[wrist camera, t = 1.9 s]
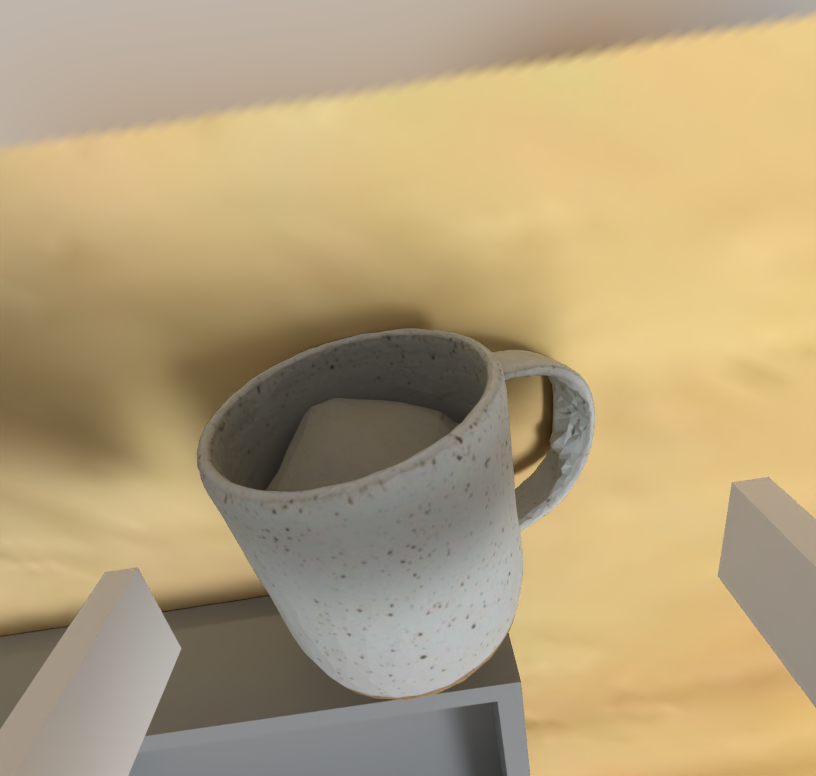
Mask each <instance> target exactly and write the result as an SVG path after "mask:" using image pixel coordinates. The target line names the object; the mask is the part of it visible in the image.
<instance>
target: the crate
mask: <svg viewBox="0 0 816 776" xmlns="http://www.w3.org/2000/svg"><path fill="white" fill-rule="evenodd" d="M162 613H163V615H164V617H165V619H166V621H167V623H168V624H169V626H170V628H171V630H172V632H173V634H174V636H175V637H176V639H177V641H178V643H179V645H180V647H181V651H180V653H179V656H178V658H177V660H176V663H175V665H174V668H173V670H172V672H171V675H170V677H169V679H168V682H167V684H166V687H165V689H164V691H163V694H162V696H161V699H160V701H159V703H158V706H157V708H156V711H155V713H154V715H153V718H152V720H151V723H150V725H149V727H148V730H147V732H146V735H145V737H144V739H143V742H142V744H141V746H140V749H139V751H138V754H137V756H136V758H135V761H134V763H133V766H132V768H131V770H130V773H129V775H128V776H530V769H529V759H528V749H527V739H526V728H525V718H524V708H523V698H522V688H521V680H520V676H519V672H518V669H517V665H516V661H515V657H514V653H513V649H512V645H511V641H510V637H509V633H508V634H507V635H506V637H505V638H504V640H503V641H502V643H501V644H500V646H499V647H498V649H497V650H496V652H495V653H494V654H493V656H492V657H491V658H490V659H489V660H488V661H487V662H485V663H484V664H483V665H482V666H481V667H480V668H478V669H477V670H476V671H475V672H474V673H473V674H471V675H470V676H469V677H468V678H467V679H466V680H464V681H463V682H460V683H458V684H456V685H454V686H452V687H450V688H448V689H446V690H444V691H441V692H439V693H437V694H433V695H429V696H424V697H419V698H415V699H409V700H397V699H380V698H372V697H369V696H365V695H361V694H358V693H356V692H354V691H352V690H350V689H348V688H346V687H344V686H343V685H341V684H340V683H338V682H337V681H335V680H333V679H332V678H331V677H329V676H328V675H327V674H326V673H325V672H324V671H323V670H322V669H321V668H320V667H319V666H318V665H317V664H316V663H315V662H314V661H313V660H312V659H311V658H310V657H309V656H308V655H307V654H306V653H305V652H304V651H303V650H302V649H301V647H300V646H299V644H298V643H297V642H296V640H295V639H294V637H293V636H292V634H291V632H290V631H289V629H288V627H287V626H286V624H285V622H284V620H283V618H282V617H281V615H280V613H279V611H278V609H277V607H276V606H275V604H274V602H273V600H272V598H271V597H270V596H266V597H259V598H253V599H246V600H240V601H233V602H227V603H220V604H214V605H207V606H200V607H194V608H187V609H181V610H174V611H168V612H162ZM67 629H68V627H63V628H56V629H50V630H43V631H36V632H30V633H23V634H17V635H10V636H4V637H0V729H1V727H2V726H3V724H4V723H5V721H6V720H7V718H8V717H9V715H10V714H11V712H12V711H13V709H14V708H15V706H16V705H17V703H18V702H19V700H20V699H21V697H22V696H23V694H24V693H25V691H26V690H27V688H28V687H29V685H30V684H31V682H32V681H33V679H34V678H35V676H36V675H37V673H38V672H39V670H40V669H41V667H42V666H43V664H44V663H45V661H46V660H47V658H48V657H49V655H50V654H51V652H52V651H53V649H54V648H55V646H56V645H57V643H58V642H59V641H60V639H61V638H62V636H63V635H64V633H65V632H66V630H67Z"/></svg>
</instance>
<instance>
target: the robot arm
mask: <svg viewBox="0 0 816 776" xmlns="http://www.w3.org/2000/svg"><path fill="white" fill-rule="evenodd" d="M718 577H719V578H720V580H721V581H722V582H723V584H724V585H725V586H726V588H727V589H728V591H729V592H730V593H731V595H732V596H733V597H734V599H735V600H736V601H737V603H738V604H739V605H740V607H741V608H742V609H743V611H744V612H745V613H746V615H747V616H748V617H749V619H750V620H751V621H752V623H753V624H754V625H755V627H756V628H757V629H758V631H759V632H760V633H761V635H762V636H763V637H764V639H765V640H766V642H767V643H768V644H769V646H770V647H771V648H772V650H773V651H774V652H775V654H776V655H777V656H778V658H779V659H780V660H781V662H782V663H783V664H784V666H785V667H786V668H787V670H788V671H789V672H790V674H791V675H792V676H793V678H794V679H795V680H796V682H797V683H798V684H799V686H800V687H801V688H802V690H803V691H804V693H805V694H806V695H807V697H808V698H809V699H810V701H811V702H812V703H813V705H814V706H815V707H816V519H815V518H814V517H813V516H811V515H810V514H809V513H808V512H807V511H806V510H805V509H804V508H803V507H801V506H800V505H799V504H798V503H797V502H796V501H795V500H794V499H793V498H791V497H790V496H789V495H788V494H787V493H786V492H785V491H784V490H782V489H781V488H780V487H779V486H778V485H777V484H776V483H775V482H774V481H772V480H771V479H770V478H769V477H766V478H759V479H753V480H746V481H739V482H732V485H731V492H730V499H729V505H728V512H727V518H726V525H725V532H724V538H723V545H722V552H721V558H720V565H719V572H718ZM180 651H181V647H180V645H179V643H178V641H177V639H176V637H175V636H174V634H173V632H172V630H171V628H170V626H169V624H168V623H167V621H166V619H165V617H164V615H163V613H162V611H161V610H160V608H159V606H158V604H157V602H156V600H155V599H154V597H153V595H152V593H151V591H150V589H149V587H148V586H147V584H146V582H145V580H144V578H143V576H142V574H141V573H140V571H139V569H138V568H131V569H124V570H117V571H110V572H105V573H104V575H103V576H102V578H101V579H100V581H99V582H98V584H97V585H96V587H95V588H94V590H93V591H92V593H91V594H90V596H89V597H88V599H87V600H86V602H85V603H84V605H83V606H82V608H81V609H80V611H79V612H78V614H77V615H76V617H75V618H74V620H73V621H72V623H71V624H70V626H69V627H68V629H67V630H66V632H65V633H64V635H63V636H62V638H61V639H60V641H59V642H58V643H57V645H56V646H55V648H54V649H53V651H52V652H51V654H50V655H49V657H48V658H47V660H46V661H45V663H44V664H43V666H42V667H41V669H40V670H39V672H38V673H37V675H36V676H35V678H34V679H33V681H32V682H31V684H30V685H29V687H28V688H27V690H26V691H25V693H24V694H23V696H22V697H21V699H20V700H19V702H18V703H17V705H16V706H15V708H14V709H13V711H12V712H11V714H10V715H9V717H8V718H7V720H6V721H5V723H4V724H3V726H2V727H1V729H0V776H128V775H129V773H130V770H131V768H132V766H133V763H134V761H135V758H136V756H137V754H138V751H139V749H140V746H141V744H142V742H143V739H144V737H145V735H146V732H147V730H148V727H149V725H150V723H151V720H152V718H153V715H154V713H155V711H156V708H157V706H158V703H159V701H160V699H161V696H162V694H163V691H164V689H165V687H166V684H167V682H168V679H169V677H170V675H171V672H172V670H173V668H174V665H175V663H176V660H177V658H178V656H179V653H180Z"/></svg>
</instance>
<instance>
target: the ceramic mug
mask: <svg viewBox="0 0 816 776" xmlns="http://www.w3.org/2000/svg"><path fill="white" fill-rule="evenodd" d="M539 375H547V376H548V379H549V380H550V382H551V383H552V390H553V430H552V434H551V438H550V444H551V446H550V448H549V450H548V452H547V455H546V457H545V458H544V459H543V461H542V462H541V463H540V465H539V466H538V467H537V469H536V470H535V472H534V473H533V474H532V475H531V476H530V477H529V478H527V479H526V480H525V481H523V482H522V484H521V485H520V486H519V487H517V488H516V489H515V484H514V470H513V459H512V447H511V435H510V421H509V408H508V396H507V389H506V383H505V381H507V380H508V379H512V378H517V377H528V376H539ZM594 423H595V411H594V402H593V398H592V393H591V391H590V389H589V386H588V385H587V383H586V382H585V380H584V379H583V378H582V377H581V376H580V375H579V374H578V373H577V372H575V371H574V370H572V369H571V368H569V367H568V366H566V365H564V364H562V363H559V362H557V361H554V360H552V359H550V358H548V357H546V356H544V355H541V354H538V353H535V352H532V351H526V350H504V351H498V352H491V351H490V350H489V349H488V348H487V347H486V346H484V345H483V344H481V343H480V342H478V341H476V340H474V339H472V338H470V337H468V336H463V335H460V334H458V333H453V332H446V331H442V330H428V329H418V328H406V329H396V330H389V331H382V332H376V333H366V334H359V335H356V336H352V337H348V338H344V339H340V340H337V341H333V342H330V343H325V344H323V345H321V346H319V347H316V348H312V349H308V350H306V351H304V352H301V353H299V354H297V355H295V356H294V357H292V358H289V359H287V360H284V361H282V362H280V363H278V364H276V365H274V366H273V367H271V368H269V369H268V370H266V371H264V372H262V373H261V374H259V375H257V376H255V377H254V378H252V379H250V380H249V381H248V382H247V383H246V384H245V385H244V386H243V387H242V388H240V389H239V390H238V391H237V392H235V393H234V394H233V395H231V396H230V397H229V399H228V400H227V401H226V402H225V403H224V404H223V405H222V406H221V407H220V408H219V409H218V411H217V412H216V413H215V414H214V415H213V417H212V418H211V419H210V420H209V422H208V423H207V425H206V427H205V429H204V432H203V434H202V436H201V438H200V441H199V446H198V450H197V466H198V469H199V471H200V476H201V480H202V482H203V485H204V487H205V489H206V491H207V493H208V494H209V496H210V498H211V499H212V501H213V502H214V504H215V505H216V507H217V508H218V510H219V511H220V513H221V514H222V516H223V518H224V520H225V521H226V523H227V525H228V527H229V529H230V530H231V532H232V534H233V535H234V537H235V539H236V540H237V542H238V544H239V545H240V547H241V549H242V550H243V552H244V554H245V556H246V558H247V560H248V561H249V563H250V565H251V566H252V568H253V570H254V571H255V573H256V575H257V576H258V578H259V580H260V581H261V583H262V584H263V586H264V587H265V589H266V591H267V592H268V594H269V595H270V597H271V598H272V600H273V602H274V604H275V606H276V607H277V609H278V611H279V613H280V615H281V617H282V618H283V620H284V622H285V624H286V626H287V627H288V629H289V631H290V632H291V634H292V636H293V637H294V639H295V640H296V642H297V643H298V644H299V646H300V647H301V649H302V650H303V651H304V652H305V653H306V654H307V655H308V656H309V657H310V658H311V659H312V660H313V661H314V662H315V663H316V664H317V665H318V666H319V667H320V668H321V669H322V670H323V671H324V672H325V673H326V674H327V675H328V676H329V677H331V678H332V679H333V680H335V681H337V682H338V683H340V684H341V685H343V686H344V687H346V688H348V689H350V690H352V691H354V692H356V693H358V694H361V695H365V696H369V697H372V698H380V699H397V700H409V699H415V698H419V697H424V696H429V695H433V694H437V693H439V692H441V691H444V690H446V689H448V688H450V687H452V686H454V685H456V684H458V683H460V682H463V681H464V680H466V679H467V678H468V677H469V676H470V675H471V674H473V673H474V672H475V671H476V670H477V669H478V668H480V667H481V666H482V665H483V664H484V663H485V662H487V661H488V660H489V659H490V658H491V657H492V656H493V654H494V653H495V652H496V650H497V649H498V647H499V646H500V644H501V643H502V641H503V640H504V638H505V637H506V635H507V634H508V632H509V630H510V628H511V625H512V623H513V620H514V617H515V613H516V610H517V606H518V601H519V596H520V590H521V582H522V575H523V554H522V544H521V535H520V531H521V530H523V529H525V528H526V527H528V526H530V525H531V524H533V523H535V522H536V521H537V520H538V519H540V518H541V517H543V516H545V515H546V514H547V513H549V512H550V511H551V510H552V509H553V508H554V507H555V506H556V505H557V504H558V503H559V502H560V501H561V500H562V499H563V498H564V497H566V496H567V494H568V493H569V491H570V490H571V488H572V487H573V485H574V484H575V482H576V480H577V479H578V477H579V476H580V473H581V471H582V469H583V467H584V465H585V463H586V461H587V458H588V455H589V451H590V448H591V444H592V439H593V434H594Z"/></svg>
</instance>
